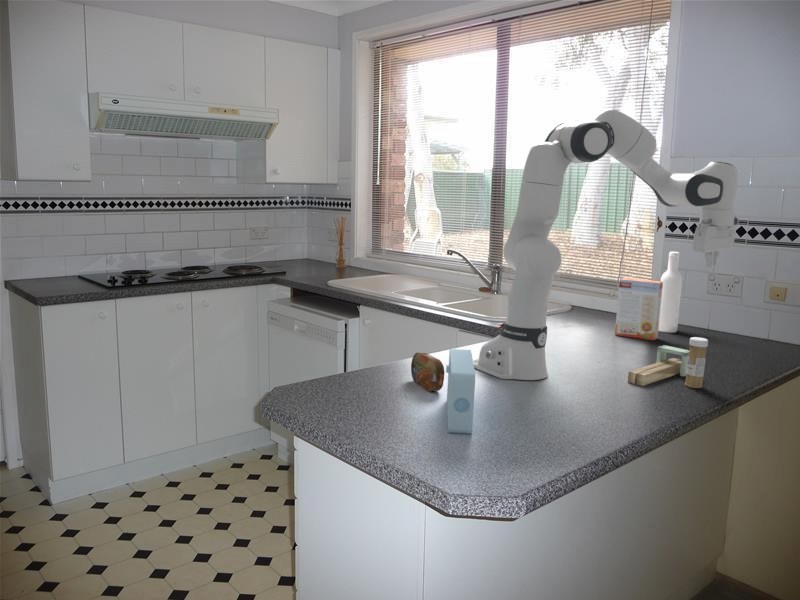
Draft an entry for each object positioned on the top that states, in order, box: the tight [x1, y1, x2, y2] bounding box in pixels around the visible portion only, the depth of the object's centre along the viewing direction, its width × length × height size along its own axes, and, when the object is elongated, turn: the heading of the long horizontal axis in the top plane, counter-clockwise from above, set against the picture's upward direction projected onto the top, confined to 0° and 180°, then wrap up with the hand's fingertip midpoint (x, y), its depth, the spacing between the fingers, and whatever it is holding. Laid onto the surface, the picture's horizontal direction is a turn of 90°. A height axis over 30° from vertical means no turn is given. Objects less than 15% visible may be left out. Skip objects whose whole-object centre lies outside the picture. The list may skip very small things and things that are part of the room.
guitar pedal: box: [445, 348, 476, 435], centre depth 156 cm, size 23×6×13 cm, turn 177°
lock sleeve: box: [655, 344, 690, 377], centre depth 202 cm, size 8×4×7 cm, turn 43°
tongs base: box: [627, 357, 682, 385], centre depth 198 cm, size 3×27×3 cm, turn 133°
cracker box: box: [614, 277, 663, 341], centre depth 248 cm, size 14×6×21 cm, turn 58°
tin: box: [410, 352, 446, 393], centre depth 178 cm, size 15×3×8 cm, turn 23°
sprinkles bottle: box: [684, 336, 709, 389], centre depth 188 cm, size 5×5×14 cm
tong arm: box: [635, 361, 682, 387], centre depth 196 cm, size 2×24×3 cm, turn 133°
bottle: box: [658, 251, 683, 334], centre depth 260 cm, size 8×8×30 cm
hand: (710, 266), depth 203 cm, fingers closed
